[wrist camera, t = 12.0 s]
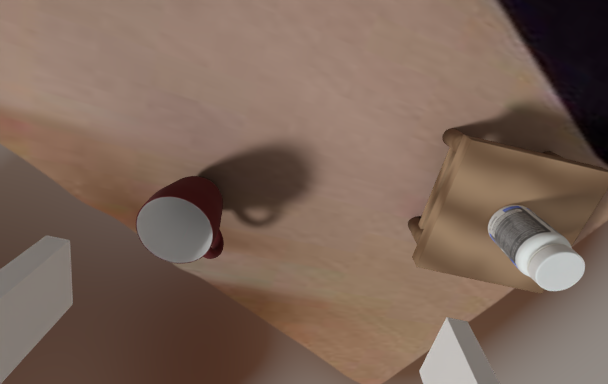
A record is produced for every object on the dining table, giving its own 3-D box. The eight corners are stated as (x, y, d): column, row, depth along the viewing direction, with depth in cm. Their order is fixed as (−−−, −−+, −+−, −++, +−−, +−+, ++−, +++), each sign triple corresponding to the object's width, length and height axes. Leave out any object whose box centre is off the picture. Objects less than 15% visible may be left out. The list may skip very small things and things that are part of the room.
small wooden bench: (443, 121, 41) (471, 139, 34) (564, 150, 42) (616, 174, 35) (401, 231, 47) (416, 267, 40) (507, 254, 48) (541, 293, 41)
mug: (257, 216, 47) (243, 260, 38) (209, 243, 49) (185, 291, 40) (207, 150, 43) (179, 181, 34) (158, 182, 45) (118, 219, 36)
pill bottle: (480, 239, 38) (521, 291, 30) (496, 200, 36) (544, 244, 29) (522, 246, 38) (575, 298, 31) (541, 207, 36) (601, 253, 29)
